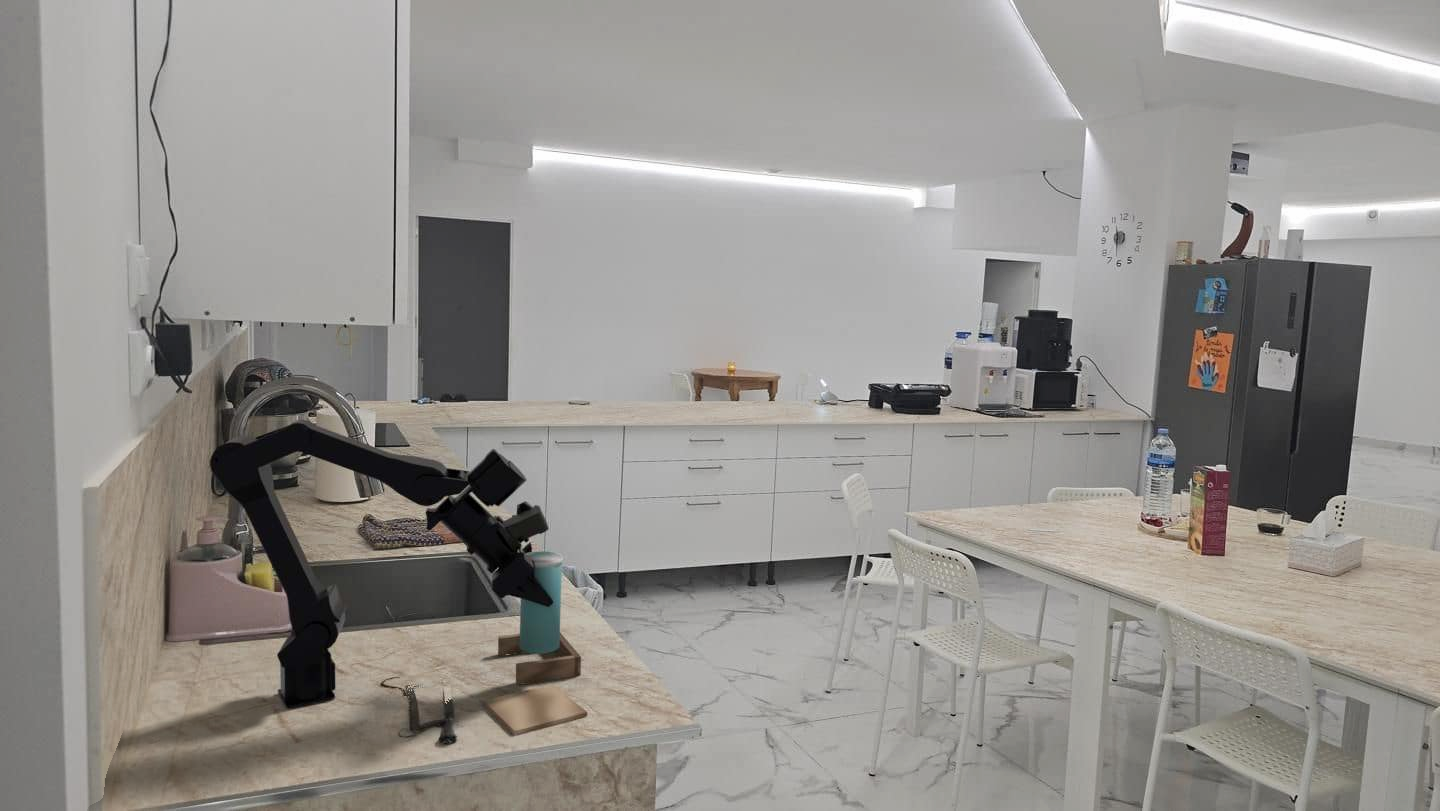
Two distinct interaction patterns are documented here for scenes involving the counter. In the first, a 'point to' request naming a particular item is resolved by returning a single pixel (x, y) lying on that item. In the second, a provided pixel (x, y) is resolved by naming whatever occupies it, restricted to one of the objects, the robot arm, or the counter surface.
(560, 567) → the tin
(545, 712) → the mat
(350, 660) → the counter surface
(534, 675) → the cubby
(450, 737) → the hacksaw
